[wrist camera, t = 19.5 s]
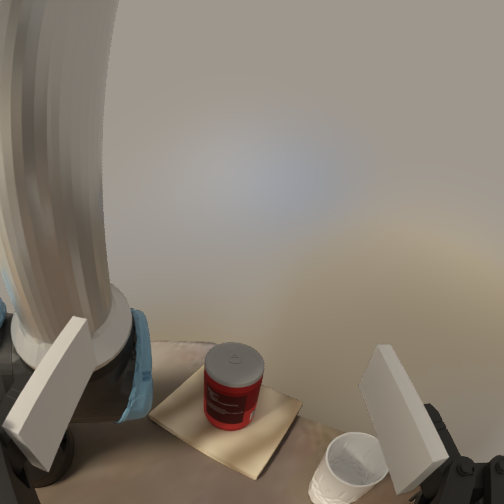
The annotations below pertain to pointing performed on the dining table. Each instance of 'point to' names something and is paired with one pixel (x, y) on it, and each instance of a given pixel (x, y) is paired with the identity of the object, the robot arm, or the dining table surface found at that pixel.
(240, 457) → the cutting board
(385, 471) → the white cup
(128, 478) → the dining table surface
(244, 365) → the canned food
